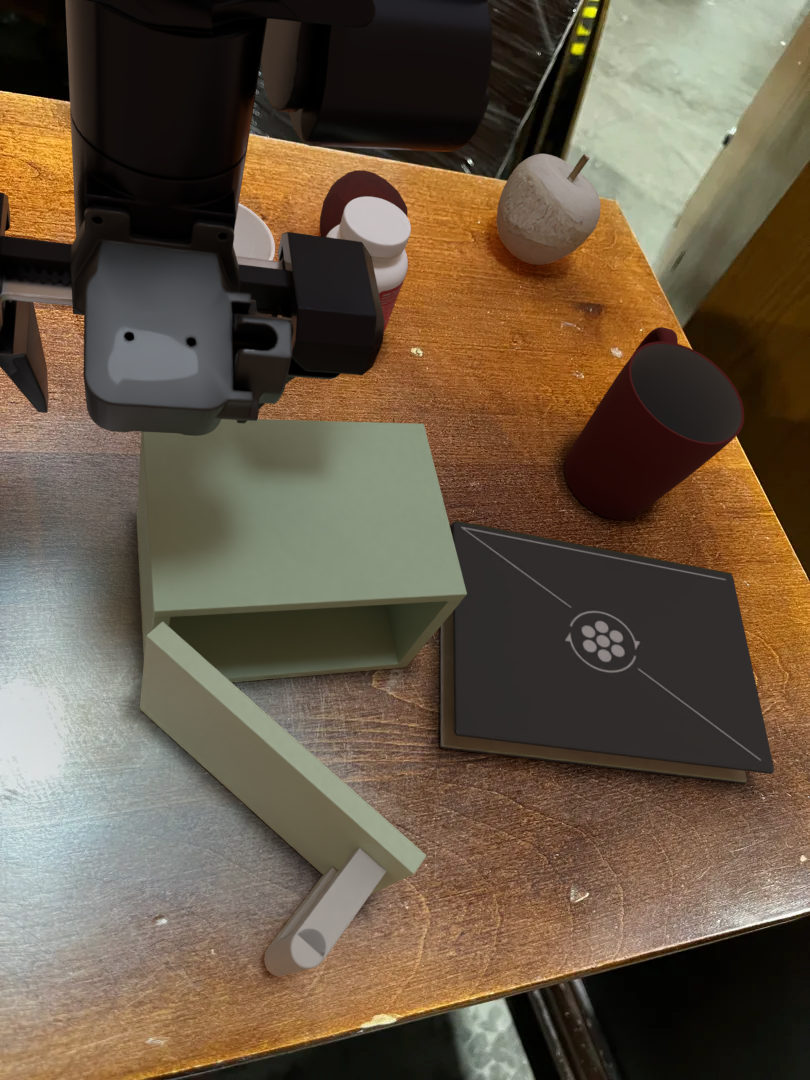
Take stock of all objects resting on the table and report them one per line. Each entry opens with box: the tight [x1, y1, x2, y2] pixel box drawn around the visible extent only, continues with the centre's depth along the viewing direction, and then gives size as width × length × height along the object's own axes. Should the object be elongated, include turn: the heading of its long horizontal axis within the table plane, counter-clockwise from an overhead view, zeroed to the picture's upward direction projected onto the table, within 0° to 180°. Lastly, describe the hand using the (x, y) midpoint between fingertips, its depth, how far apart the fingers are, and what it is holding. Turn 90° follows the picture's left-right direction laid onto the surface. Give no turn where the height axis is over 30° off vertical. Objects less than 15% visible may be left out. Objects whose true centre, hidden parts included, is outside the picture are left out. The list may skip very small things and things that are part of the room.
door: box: [139, 622, 427, 977], centre depth 38 cm, size 6×16×10 cm, turn 53°
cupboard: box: [136, 418, 467, 683], centre depth 46 cm, size 11×16×11 cm
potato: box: [319, 169, 409, 237], centre depth 66 cm, size 7×8×6 cm
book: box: [439, 520, 775, 785], centre depth 54 cm, size 22×15×3 cm
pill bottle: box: [326, 197, 412, 332], centre depth 58 cm, size 6×6×11 cm
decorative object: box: [496, 153, 602, 266], centre depth 71 cm, size 9×9×10 cm
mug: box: [563, 326, 745, 521], centre depth 60 cm, size 12×9×11 cm
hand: (145, 411), depth 40 cm, fingers open, 9 cm apart
